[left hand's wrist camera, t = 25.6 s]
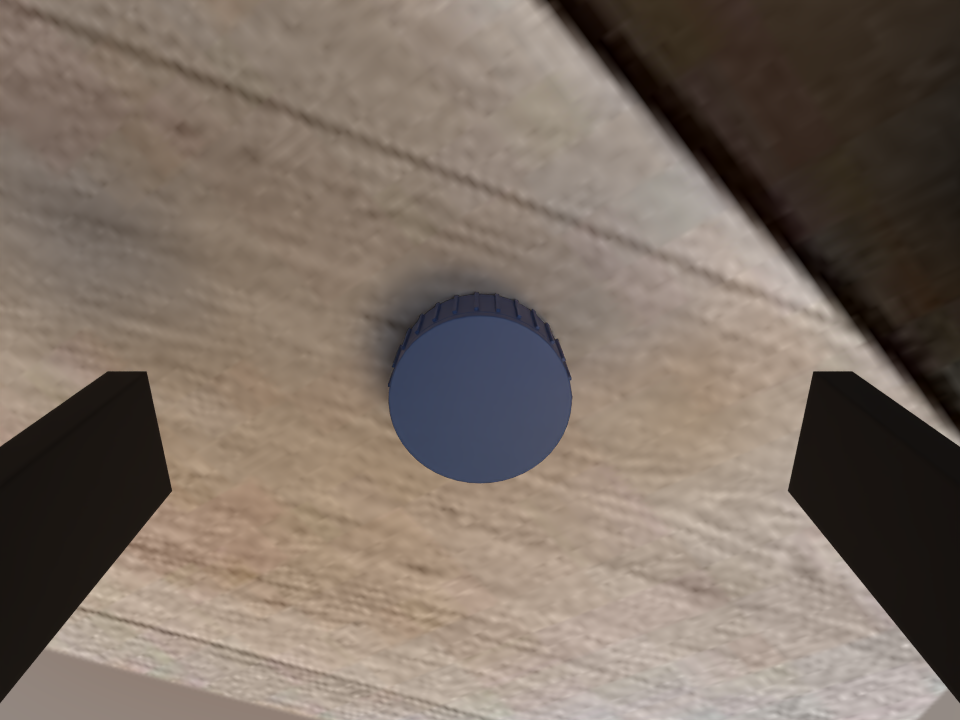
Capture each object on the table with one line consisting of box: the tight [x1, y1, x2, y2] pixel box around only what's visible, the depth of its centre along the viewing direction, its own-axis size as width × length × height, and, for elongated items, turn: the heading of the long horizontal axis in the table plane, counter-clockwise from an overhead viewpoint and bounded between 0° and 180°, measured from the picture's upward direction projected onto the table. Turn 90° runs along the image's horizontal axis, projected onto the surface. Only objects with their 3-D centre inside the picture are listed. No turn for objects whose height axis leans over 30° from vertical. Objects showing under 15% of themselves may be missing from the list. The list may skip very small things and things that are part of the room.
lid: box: [388, 292, 572, 483], centre depth 17 cm, size 5×5×2 cm
